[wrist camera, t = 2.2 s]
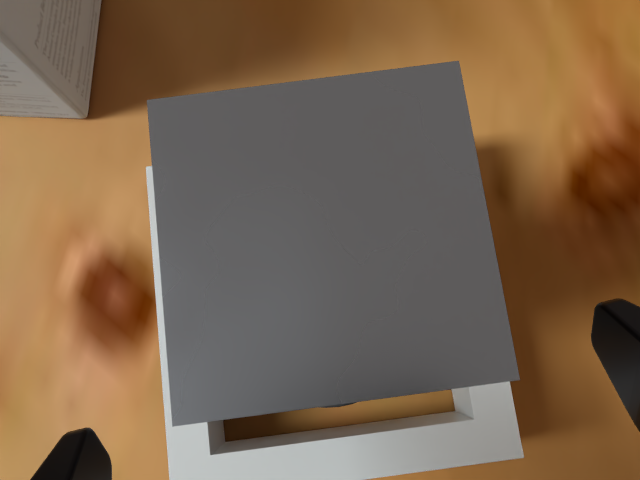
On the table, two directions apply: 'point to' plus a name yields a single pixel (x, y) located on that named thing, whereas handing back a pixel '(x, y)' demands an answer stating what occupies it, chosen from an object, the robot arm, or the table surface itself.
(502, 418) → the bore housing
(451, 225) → the end cover
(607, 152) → the table surface
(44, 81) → the skincare box
